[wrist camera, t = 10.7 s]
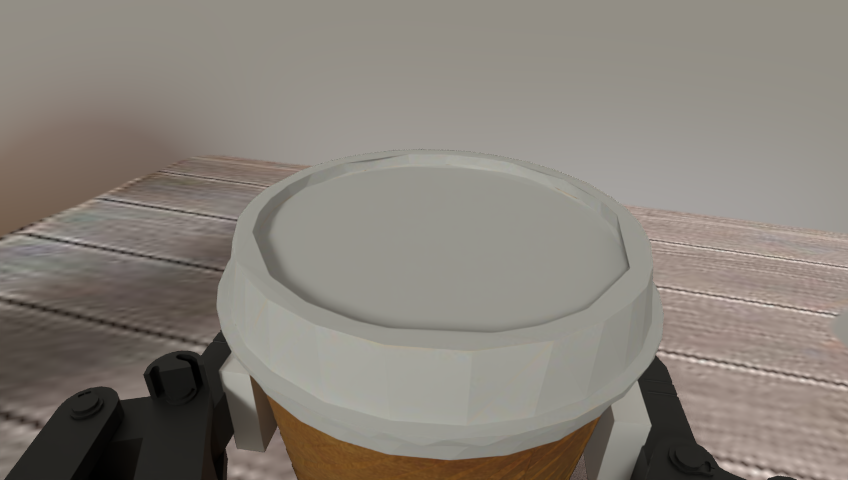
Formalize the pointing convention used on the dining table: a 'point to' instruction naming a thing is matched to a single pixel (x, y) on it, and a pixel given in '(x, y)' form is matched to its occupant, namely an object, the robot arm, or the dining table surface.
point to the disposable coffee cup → (439, 314)
